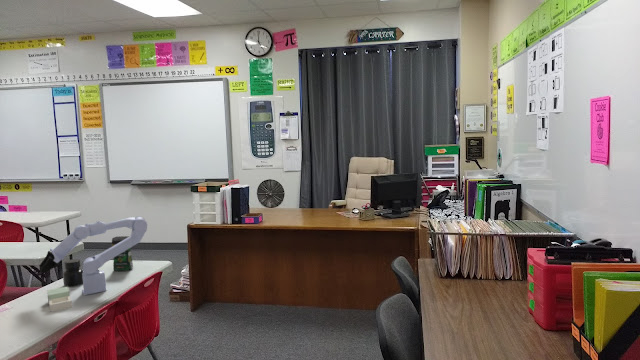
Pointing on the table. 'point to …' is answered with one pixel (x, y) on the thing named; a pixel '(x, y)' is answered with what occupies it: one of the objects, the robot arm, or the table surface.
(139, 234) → the robot arm
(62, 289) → the lid
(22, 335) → the table surface
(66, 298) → the dish
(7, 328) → the table surface
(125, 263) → the coffee jar
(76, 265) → the ink bottle
